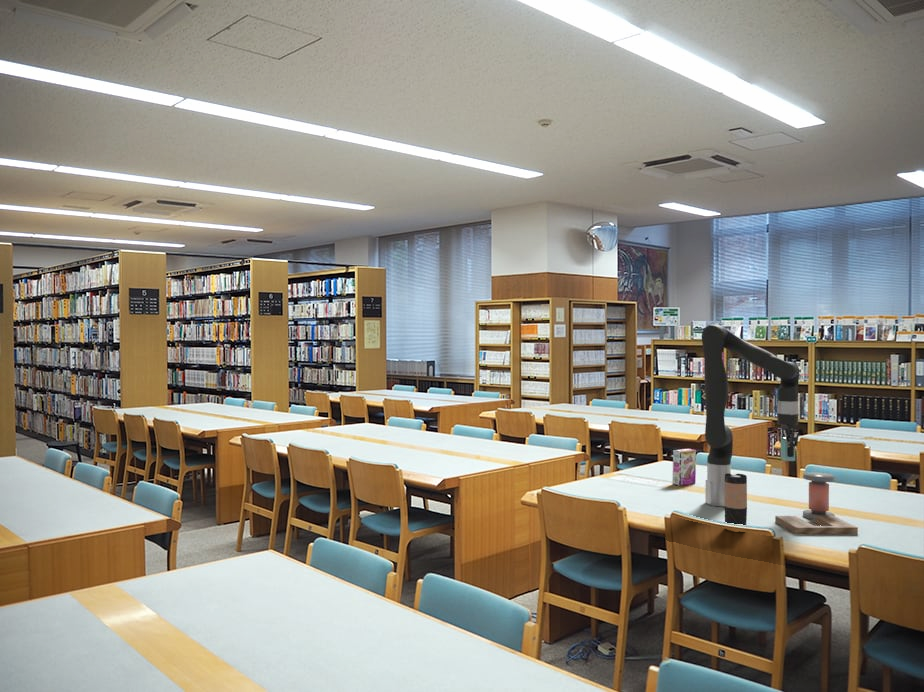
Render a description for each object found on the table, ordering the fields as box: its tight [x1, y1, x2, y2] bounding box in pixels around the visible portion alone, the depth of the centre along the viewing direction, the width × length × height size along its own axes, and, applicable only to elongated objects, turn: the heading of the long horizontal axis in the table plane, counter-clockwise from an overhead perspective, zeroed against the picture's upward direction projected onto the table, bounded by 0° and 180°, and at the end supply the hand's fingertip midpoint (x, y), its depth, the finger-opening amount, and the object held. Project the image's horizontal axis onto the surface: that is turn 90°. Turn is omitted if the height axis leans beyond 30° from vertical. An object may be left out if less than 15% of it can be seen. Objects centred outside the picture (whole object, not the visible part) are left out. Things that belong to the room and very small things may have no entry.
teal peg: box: [780, 439, 796, 462], centre depth 270 cm, size 4×4×8 cm
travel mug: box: [723, 473, 748, 526], centre depth 249 cm, size 8×8×20 cm
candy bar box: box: [671, 448, 697, 487], centre depth 326 cm, size 11×5×16 cm, turn 122°
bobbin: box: [802, 471, 836, 521], centre depth 265 cm, size 11×11×16 cm
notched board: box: [774, 515, 859, 535], centre depth 251 cm, size 22×16×2 cm
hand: (787, 455), depth 270 cm, fingers closed on teal peg, 4 cm apart
